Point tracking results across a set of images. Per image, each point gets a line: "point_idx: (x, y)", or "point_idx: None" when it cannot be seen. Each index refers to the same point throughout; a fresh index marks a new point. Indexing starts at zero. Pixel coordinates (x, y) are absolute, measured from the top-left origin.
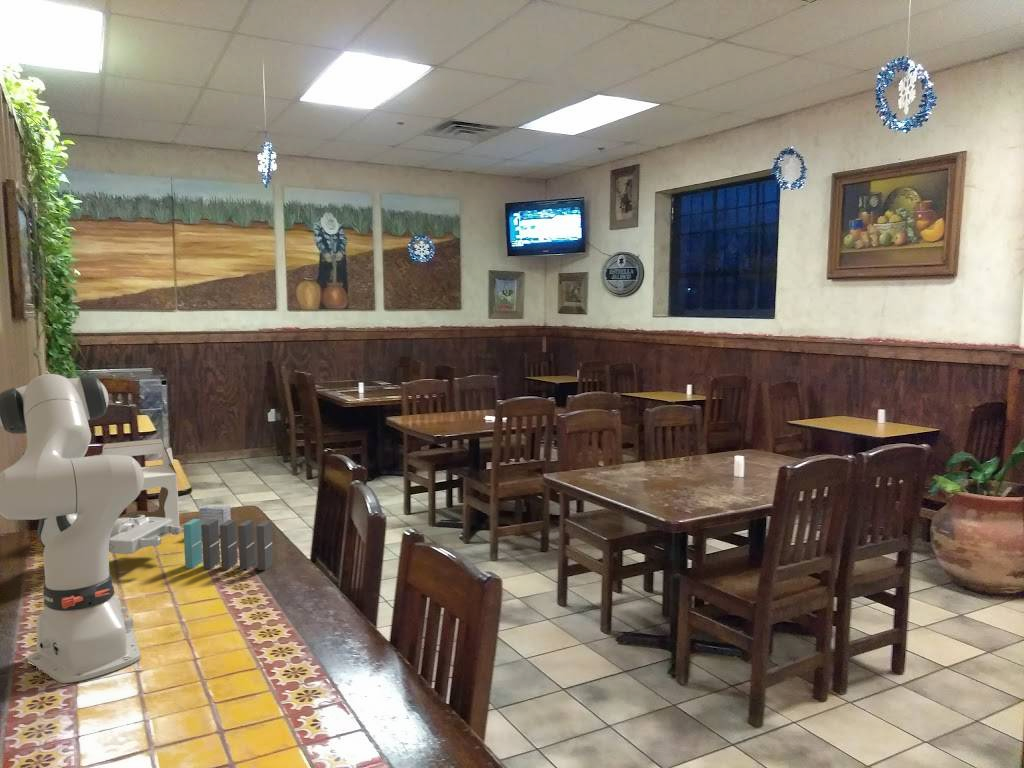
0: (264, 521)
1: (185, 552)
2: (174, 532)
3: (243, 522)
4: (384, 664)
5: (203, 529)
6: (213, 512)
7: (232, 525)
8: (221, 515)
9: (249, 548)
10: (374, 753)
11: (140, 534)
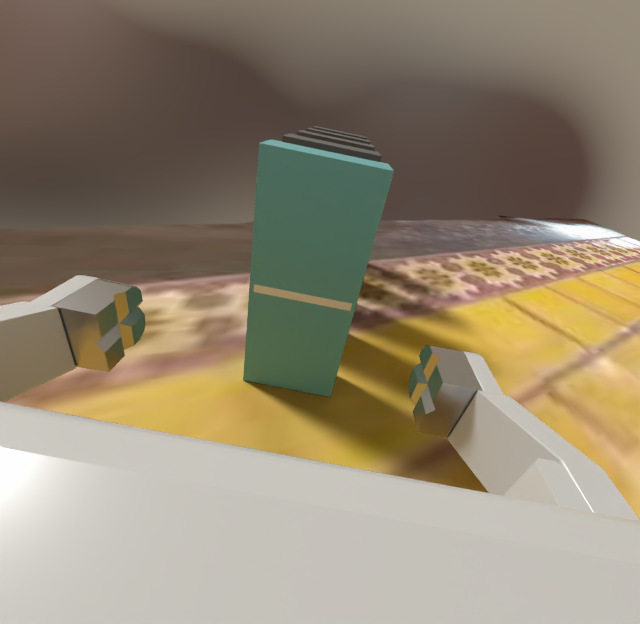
0: (322, 128)
1: (347, 333)
2: (121, 338)
3: (333, 134)
4: (536, 223)
5: None
6: None
7: None
8: None
9: None
10: (628, 238)
11: (595, 553)
